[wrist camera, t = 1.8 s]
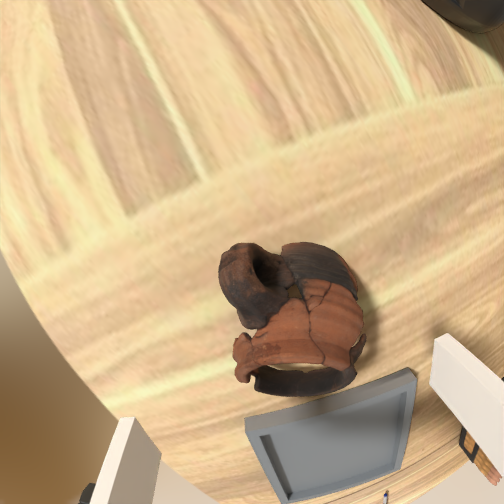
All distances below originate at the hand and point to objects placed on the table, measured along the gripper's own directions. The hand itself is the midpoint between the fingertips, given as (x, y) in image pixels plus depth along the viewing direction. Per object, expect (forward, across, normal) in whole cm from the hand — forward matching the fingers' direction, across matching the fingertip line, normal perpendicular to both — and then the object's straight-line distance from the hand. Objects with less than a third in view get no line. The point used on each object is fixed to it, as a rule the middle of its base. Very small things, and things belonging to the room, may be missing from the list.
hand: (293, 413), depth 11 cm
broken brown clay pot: (+11, +1, 0) cm, 11 cm away
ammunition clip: (+11, +24, -31) cm, 41 cm away
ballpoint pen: (+11, +12, -47) cm, 49 cm away
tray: (+11, +4, -20) cm, 23 cm away
